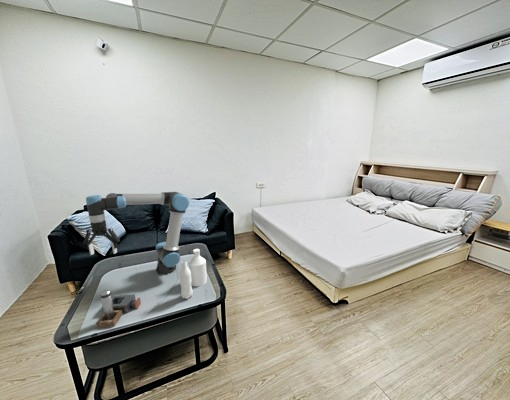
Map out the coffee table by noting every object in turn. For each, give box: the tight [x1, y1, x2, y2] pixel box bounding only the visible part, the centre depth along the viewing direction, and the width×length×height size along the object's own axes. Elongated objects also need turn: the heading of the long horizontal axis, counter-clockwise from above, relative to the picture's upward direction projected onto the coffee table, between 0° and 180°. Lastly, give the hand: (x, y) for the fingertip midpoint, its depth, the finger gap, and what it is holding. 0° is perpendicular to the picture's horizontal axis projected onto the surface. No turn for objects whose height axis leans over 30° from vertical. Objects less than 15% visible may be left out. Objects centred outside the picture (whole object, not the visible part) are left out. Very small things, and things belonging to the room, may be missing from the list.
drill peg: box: [99, 288, 115, 320], centre depth 119 cm, size 5×5×18 cm
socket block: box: [101, 294, 137, 315], centre depth 131 cm, size 14×10×5 cm
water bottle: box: [178, 260, 194, 300], centre depth 138 cm, size 7×7×25 cm
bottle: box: [188, 248, 208, 287], centre depth 154 cm, size 12×12×25 cm
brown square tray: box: [96, 310, 124, 328], centre depth 121 cm, size 9×9×3 cm
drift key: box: [130, 297, 142, 309], centre depth 132 cm, size 8×4×4 cm, turn 95°
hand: (103, 253), depth 134 cm, fingers open, 13 cm apart
